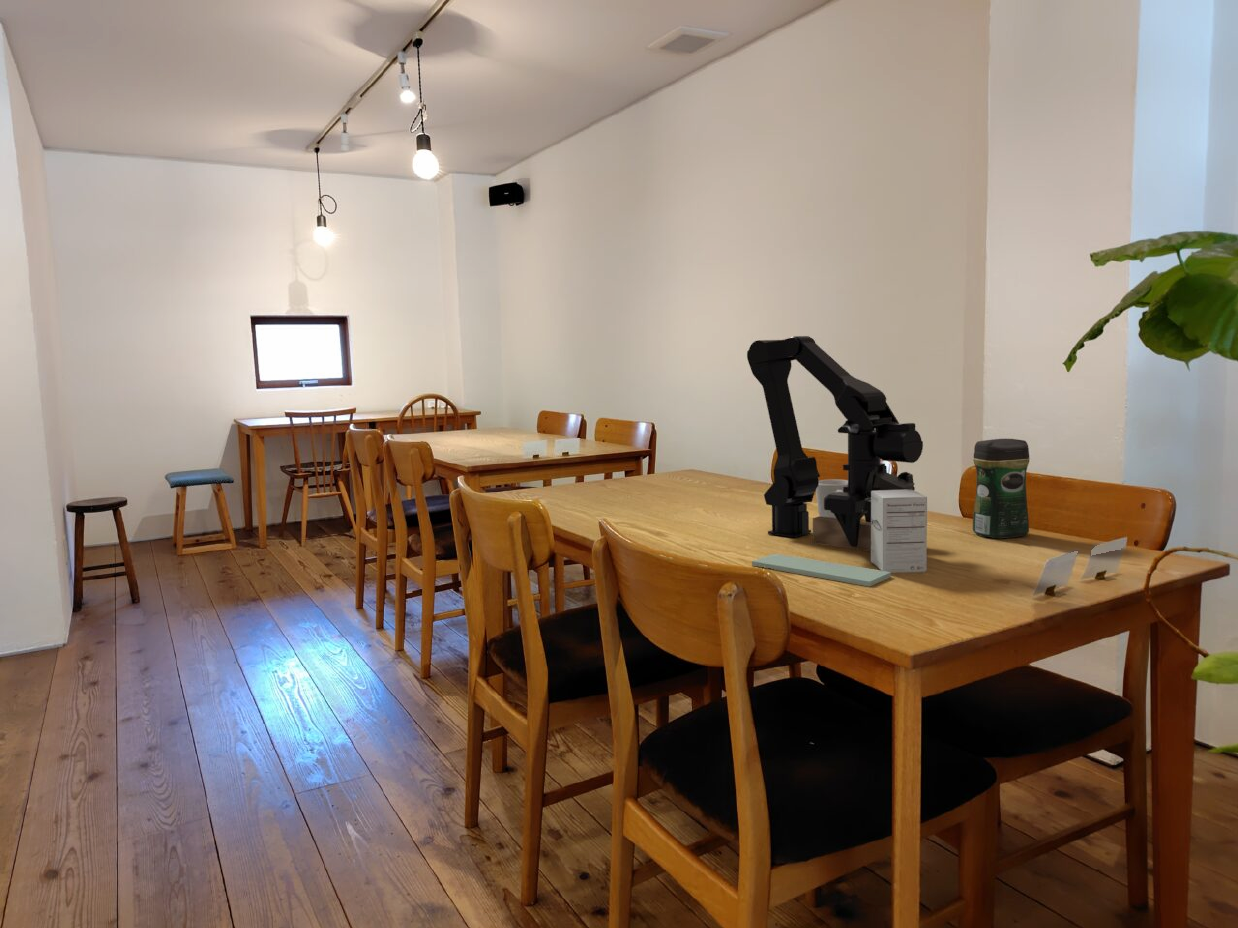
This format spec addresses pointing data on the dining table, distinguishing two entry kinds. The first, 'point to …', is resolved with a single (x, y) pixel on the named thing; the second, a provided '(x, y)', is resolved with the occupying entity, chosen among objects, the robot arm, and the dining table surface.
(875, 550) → the supplement box
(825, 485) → the cup
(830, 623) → the dining table surface
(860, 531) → the wooden plank
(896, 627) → the dining table surface
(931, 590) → the dining table surface
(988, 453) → the coffee jar
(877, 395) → the robot arm
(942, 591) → the dining table surface
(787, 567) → the tool mat
